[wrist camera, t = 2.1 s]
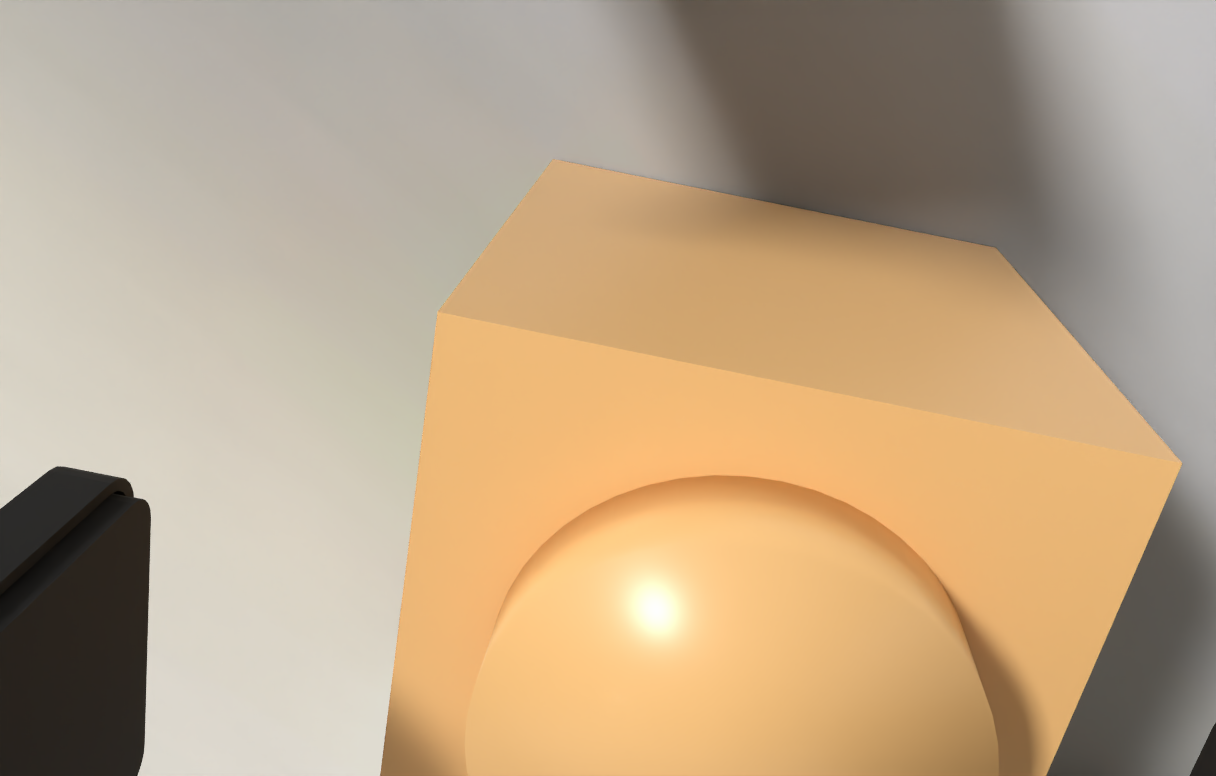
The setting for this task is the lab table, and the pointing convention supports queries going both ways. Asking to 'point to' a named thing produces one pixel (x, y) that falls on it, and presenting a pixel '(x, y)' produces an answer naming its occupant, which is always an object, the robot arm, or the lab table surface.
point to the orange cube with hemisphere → (756, 500)
